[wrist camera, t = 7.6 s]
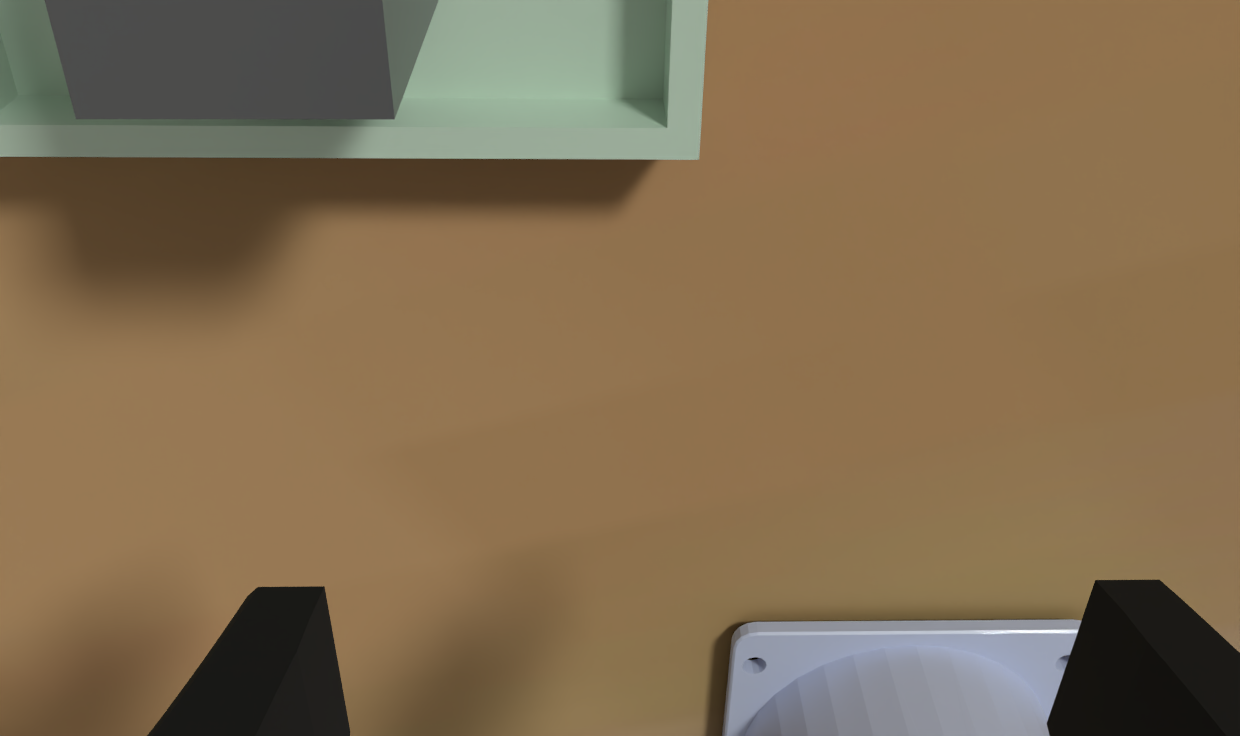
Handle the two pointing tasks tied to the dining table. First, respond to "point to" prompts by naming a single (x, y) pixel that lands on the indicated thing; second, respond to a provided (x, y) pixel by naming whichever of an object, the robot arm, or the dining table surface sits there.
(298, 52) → the plug
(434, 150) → the tray
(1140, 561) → the dining table surface
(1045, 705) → the robot arm
